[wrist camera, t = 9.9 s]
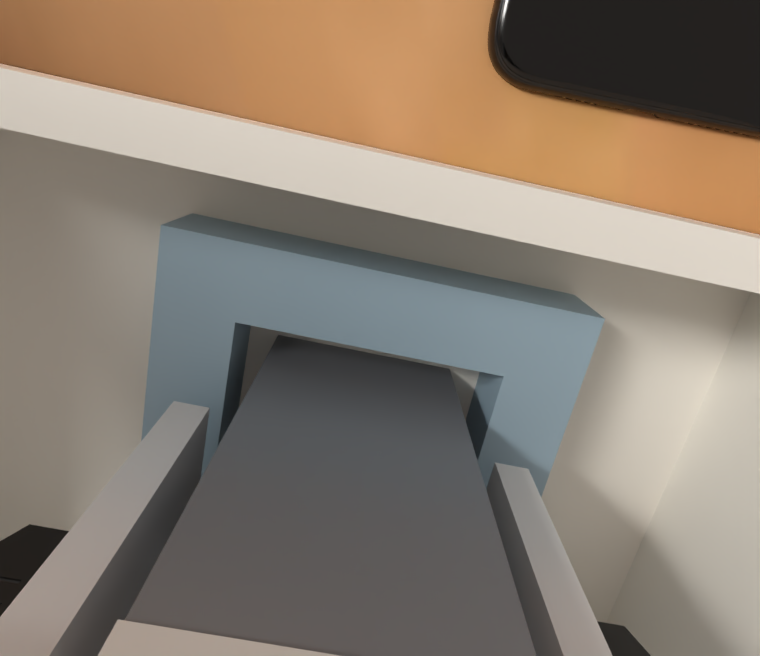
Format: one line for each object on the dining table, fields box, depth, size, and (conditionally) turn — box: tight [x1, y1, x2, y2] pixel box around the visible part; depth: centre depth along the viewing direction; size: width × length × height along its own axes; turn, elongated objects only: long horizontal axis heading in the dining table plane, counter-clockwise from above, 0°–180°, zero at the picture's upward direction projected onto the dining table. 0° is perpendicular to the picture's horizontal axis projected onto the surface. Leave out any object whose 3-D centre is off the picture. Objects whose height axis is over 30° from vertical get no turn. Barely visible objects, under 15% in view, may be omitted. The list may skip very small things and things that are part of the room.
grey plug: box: [98, 335, 536, 656], centre depth 10 cm, size 5×5×10 cm
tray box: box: [0, 63, 760, 656], centre depth 13 cm, size 22×14×6 cm, turn 78°
